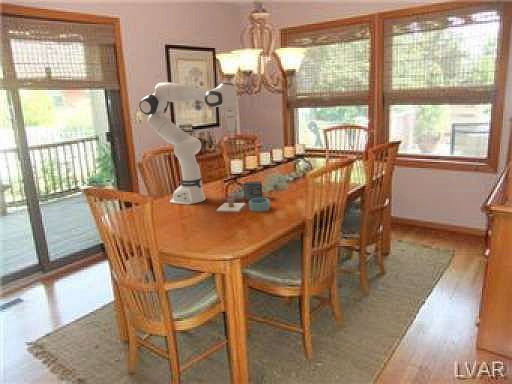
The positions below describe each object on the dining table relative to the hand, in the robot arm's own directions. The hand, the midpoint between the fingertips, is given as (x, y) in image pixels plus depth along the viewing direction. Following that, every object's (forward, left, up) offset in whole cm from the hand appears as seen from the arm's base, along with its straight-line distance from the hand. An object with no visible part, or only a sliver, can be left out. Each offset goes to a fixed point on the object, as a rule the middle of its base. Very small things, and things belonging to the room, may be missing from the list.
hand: (232, 136), depth 227 cm
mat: (0, -10, -40) cm, 41 cm away
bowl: (+17, -10, -40) cm, 44 cm away
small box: (+8, +9, -40) cm, 42 cm away
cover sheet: (0, -10, -40) cm, 41 cm away
